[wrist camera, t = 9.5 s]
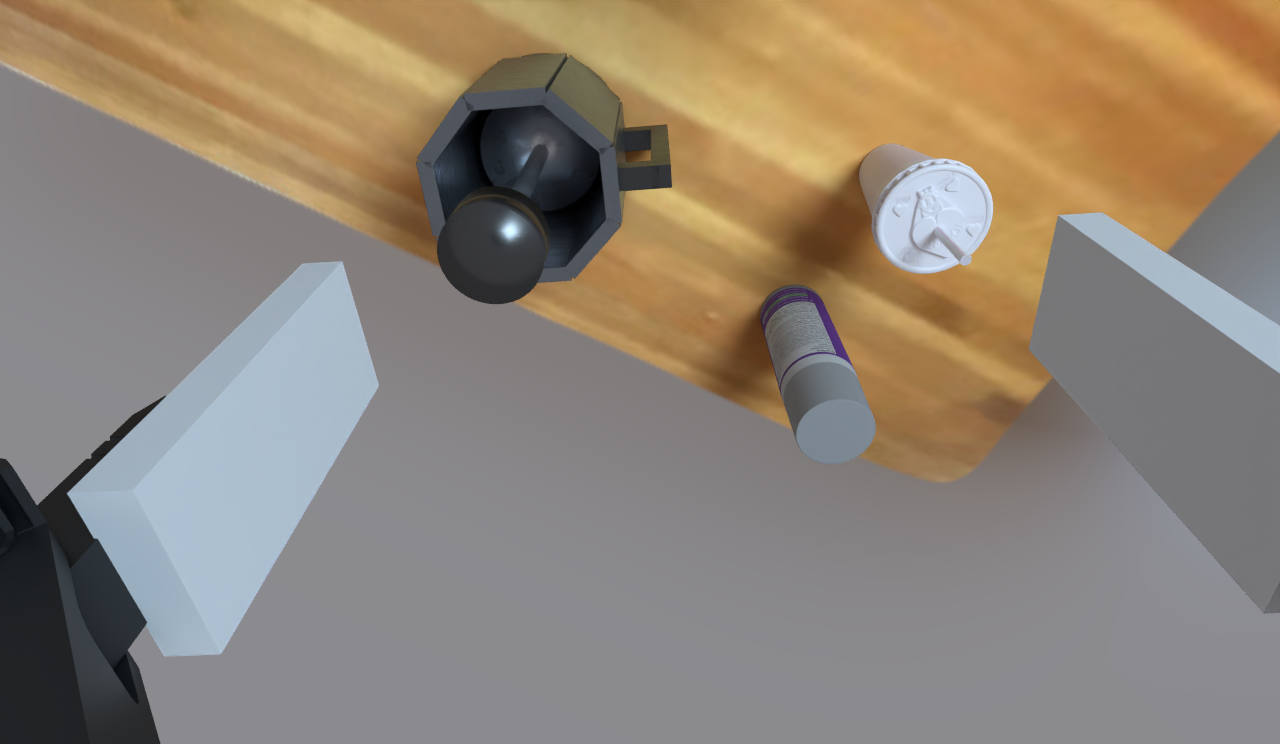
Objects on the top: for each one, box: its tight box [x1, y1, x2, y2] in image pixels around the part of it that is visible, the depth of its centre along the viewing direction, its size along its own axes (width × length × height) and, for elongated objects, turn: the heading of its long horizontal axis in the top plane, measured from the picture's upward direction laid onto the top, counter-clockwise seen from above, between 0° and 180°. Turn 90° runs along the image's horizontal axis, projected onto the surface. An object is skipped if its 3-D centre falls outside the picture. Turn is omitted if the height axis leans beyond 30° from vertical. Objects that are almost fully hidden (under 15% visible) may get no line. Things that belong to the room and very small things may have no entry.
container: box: [760, 285, 876, 464], centre depth 49 cm, size 5×5×15 cm
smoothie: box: [859, 144, 993, 274], centre depth 44 cm, size 6×6×14 cm
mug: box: [416, 53, 672, 283], centre depth 43 cm, size 10×13×12 cm
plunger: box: [437, 105, 600, 304], centre depth 38 cm, size 7×7×17 cm
